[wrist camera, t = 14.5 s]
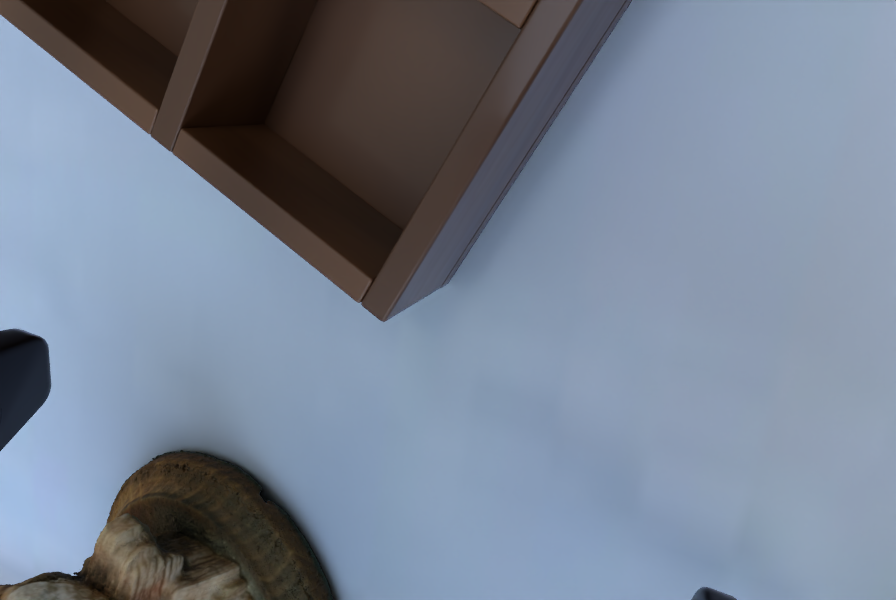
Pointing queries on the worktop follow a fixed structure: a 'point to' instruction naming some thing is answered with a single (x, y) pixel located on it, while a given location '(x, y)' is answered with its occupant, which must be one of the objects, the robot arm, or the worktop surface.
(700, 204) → the worktop surface
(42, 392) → the robot arm
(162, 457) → the beige bust sculpture
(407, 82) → the rack
